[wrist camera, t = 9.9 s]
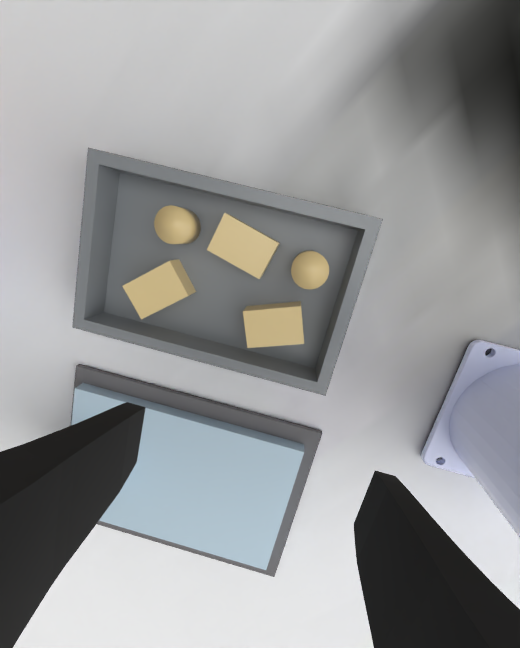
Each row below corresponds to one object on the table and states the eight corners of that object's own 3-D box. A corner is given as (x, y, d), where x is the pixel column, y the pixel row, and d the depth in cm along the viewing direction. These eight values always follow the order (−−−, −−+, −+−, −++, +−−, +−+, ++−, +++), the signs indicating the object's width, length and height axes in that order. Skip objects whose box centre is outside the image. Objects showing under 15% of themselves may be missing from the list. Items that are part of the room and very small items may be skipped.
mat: (321, 430, 20) (321, 433, 20) (274, 572, 24) (274, 576, 23) (79, 364, 21) (76, 365, 21) (65, 510, 24) (62, 513, 24)
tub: (370, 222, 17) (382, 218, 15) (321, 376, 19) (325, 395, 17) (116, 160, 18) (88, 147, 15) (99, 316, 20) (72, 327, 18)
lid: (304, 444, 20) (305, 503, 16) (267, 559, 23) (259, 639, 18) (82, 382, 21) (22, 422, 16) (70, 501, 24) (15, 564, 19)
